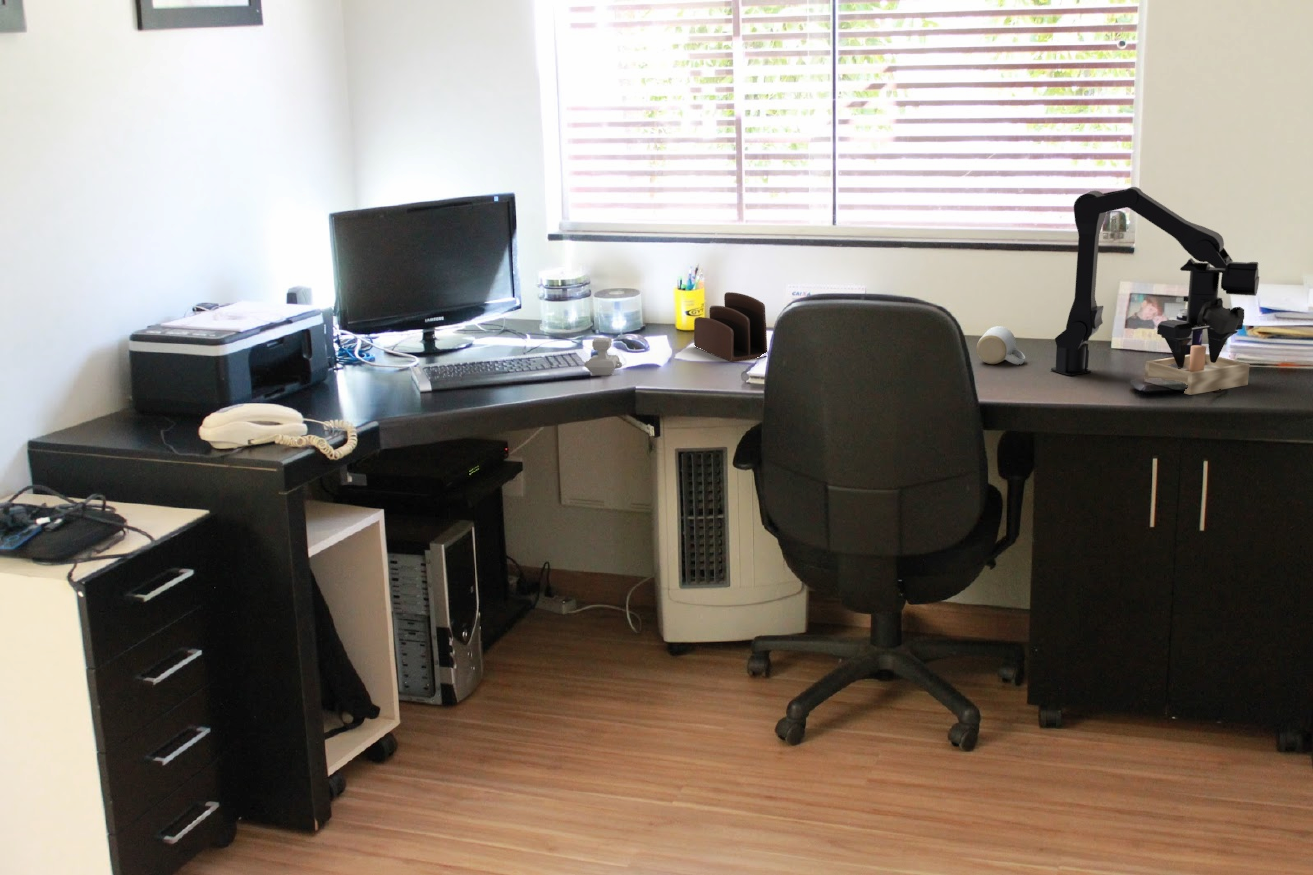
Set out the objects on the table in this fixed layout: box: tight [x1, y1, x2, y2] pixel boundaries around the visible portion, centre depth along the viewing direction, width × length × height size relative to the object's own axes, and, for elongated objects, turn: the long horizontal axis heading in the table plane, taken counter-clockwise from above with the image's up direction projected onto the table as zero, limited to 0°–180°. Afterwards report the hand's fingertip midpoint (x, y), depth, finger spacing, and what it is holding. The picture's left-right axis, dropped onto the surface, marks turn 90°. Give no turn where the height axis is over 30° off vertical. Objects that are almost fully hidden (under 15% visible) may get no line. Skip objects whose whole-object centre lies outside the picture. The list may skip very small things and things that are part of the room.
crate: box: [1144, 353, 1251, 396], centre depth 281 cm, size 16×13×4 cm
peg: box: [1189, 345, 1207, 372], centre depth 280 cm, size 3×3×8 cm
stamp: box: [583, 337, 623, 376], centre depth 306 cm, size 9×7×8 cm
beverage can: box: [1175, 308, 1204, 355], centre depth 297 cm, size 6×6×12 cm
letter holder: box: [693, 291, 768, 363], centre depth 323 cm, size 10×20×14 cm, turn 26°
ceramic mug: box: [976, 325, 1026, 365], centre depth 305 cm, size 11×8×8 cm
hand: (1196, 365), depth 280 cm, fingers open, 9 cm apart
